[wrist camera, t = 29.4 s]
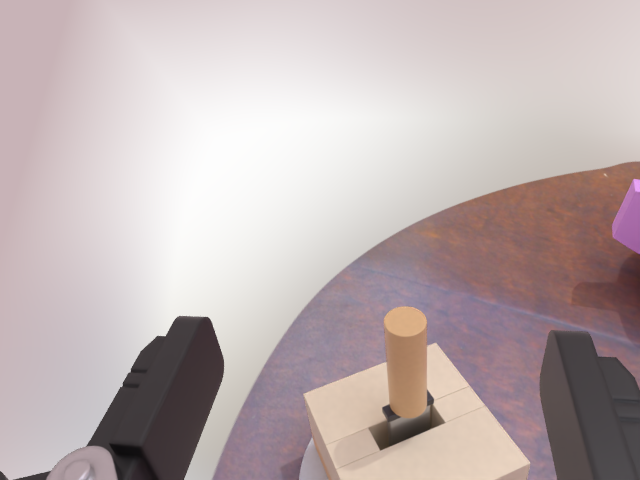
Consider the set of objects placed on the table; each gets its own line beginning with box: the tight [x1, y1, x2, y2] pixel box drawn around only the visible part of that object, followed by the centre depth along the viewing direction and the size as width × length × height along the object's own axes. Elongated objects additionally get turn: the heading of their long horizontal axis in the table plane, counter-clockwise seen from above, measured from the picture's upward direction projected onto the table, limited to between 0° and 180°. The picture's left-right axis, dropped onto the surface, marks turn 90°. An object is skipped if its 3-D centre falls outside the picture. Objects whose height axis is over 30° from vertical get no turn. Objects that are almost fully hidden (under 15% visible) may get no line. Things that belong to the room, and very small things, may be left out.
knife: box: [382, 306, 434, 447], centre depth 36 cm, size 4×3×16 cm
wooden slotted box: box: [303, 343, 530, 480], centre depth 40 cm, size 12×12×7 cm
